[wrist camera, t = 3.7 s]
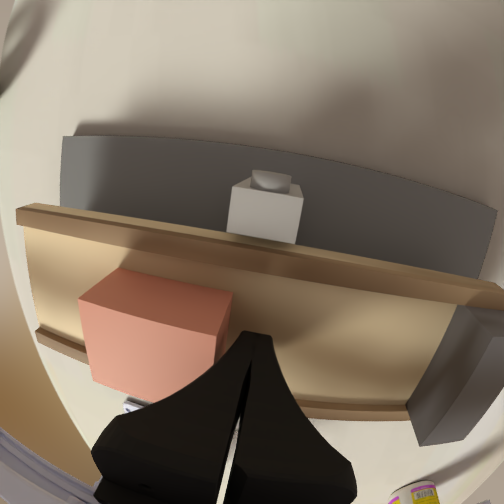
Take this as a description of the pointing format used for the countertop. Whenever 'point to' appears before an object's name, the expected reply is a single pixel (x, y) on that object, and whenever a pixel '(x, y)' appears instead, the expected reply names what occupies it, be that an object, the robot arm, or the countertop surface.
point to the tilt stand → (276, 199)
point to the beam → (296, 314)
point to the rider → (152, 332)
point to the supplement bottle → (415, 494)
